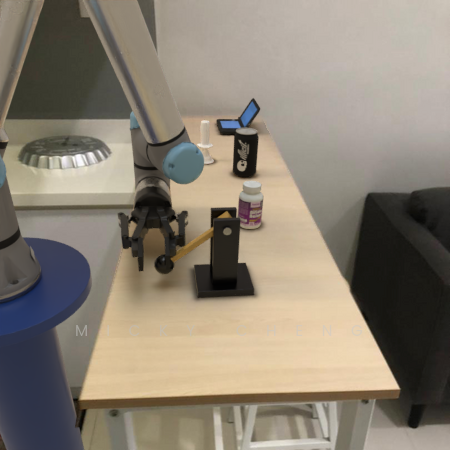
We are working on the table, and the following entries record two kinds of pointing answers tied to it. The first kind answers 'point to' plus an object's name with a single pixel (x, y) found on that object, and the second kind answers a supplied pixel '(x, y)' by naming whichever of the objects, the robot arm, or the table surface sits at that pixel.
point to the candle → (205, 141)
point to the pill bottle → (250, 205)
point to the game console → (239, 119)
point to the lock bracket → (223, 260)
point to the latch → (184, 249)
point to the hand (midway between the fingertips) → (154, 263)
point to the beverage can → (245, 152)
